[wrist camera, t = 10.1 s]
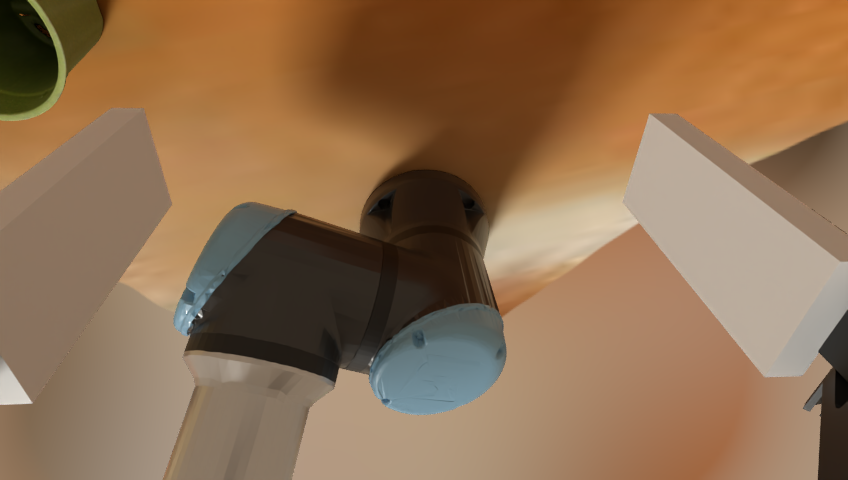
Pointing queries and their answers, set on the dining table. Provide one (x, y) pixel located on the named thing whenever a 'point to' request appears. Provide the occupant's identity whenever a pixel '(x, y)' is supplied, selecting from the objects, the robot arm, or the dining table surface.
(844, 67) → the dining table surface
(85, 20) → the plant pot
